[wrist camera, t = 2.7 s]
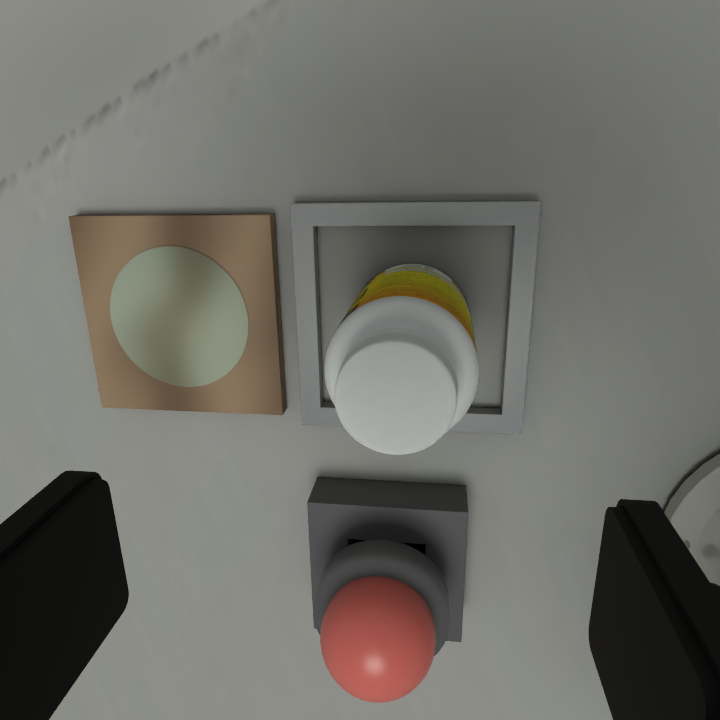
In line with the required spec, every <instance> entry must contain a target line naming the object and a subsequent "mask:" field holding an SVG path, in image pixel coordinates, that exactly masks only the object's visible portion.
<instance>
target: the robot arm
mask: <svg viewBox="0 0 720 720" xmlns="http://www.w3.org/2000/svg"><path fill="white" fill-rule="evenodd" d="M128 596H129V592H128V585H127V580H126V574H125V569H124V563H123V558H122V553H121V547H120V542H119V536H118V531H117V526H116V520H115V515H114V510H113V504H112V499H111V493H110V488H109V485H108V483H107V481H105V480H102V478H101V476H100V475H99V474H98V473H96V472H85V471H65V472H63V473H62V474H60V475H59V476H58V477H57V478H56V479H54V480H53V481H52V482H51V483H50V484H48V485H47V486H46V487H45V488H44V489H42V490H41V491H40V492H39V493H38V494H36V495H35V496H34V497H33V498H32V499H30V500H29V501H28V502H27V503H26V504H24V505H23V506H22V507H21V508H20V509H18V510H17V511H16V512H15V513H14V514H12V515H11V516H10V517H9V518H7V519H6V520H5V521H4V522H3V523H1V524H0V720H49V719H50V717H51V716H52V714H53V713H54V711H55V710H56V709H57V707H58V706H59V704H60V703H61V701H62V700H63V698H64V697H65V696H66V694H67V693H68V691H69V690H70V688H71V687H72V685H73V684H74V683H75V681H76V680H77V678H78V677H79V675H80V674H81V672H82V671H83V670H84V668H85V667H86V665H87V664H88V662H89V661H90V660H91V658H92V657H93V655H94V654H95V652H96V651H97V649H98V648H99V647H100V645H101V644H102V642H103V641H104V639H105V638H106V636H107V635H108V634H109V632H110V631H111V629H112V628H113V626H114V625H115V623H116V622H117V621H118V619H119V618H120V616H121V615H122V613H123V612H124V610H125V608H126V605H127V602H128ZM589 643H590V648H591V652H592V655H593V658H594V661H595V665H596V668H597V671H598V674H599V677H600V680H601V683H602V686H603V689H604V693H605V696H606V699H607V702H608V705H609V708H610V711H611V714H612V717H613V720H720V454H718V455H717V456H715V457H713V458H712V459H710V460H709V461H707V462H706V463H704V464H703V465H702V466H701V467H699V468H698V469H697V470H696V471H695V472H694V473H693V474H692V475H691V476H689V477H688V478H687V479H686V480H685V481H684V482H683V484H682V485H681V486H680V488H679V489H678V490H677V492H676V493H675V494H674V495H673V497H672V498H671V499H670V501H669V503H668V506H667V508H666V510H665V512H663V510H662V509H661V507H660V506H659V504H658V503H657V502H655V501H645V500H626V499H621V500H619V501H618V503H617V506H616V507H608V508H607V510H606V514H605V520H604V527H603V533H602V540H601V547H600V554H599V561H598V568H597V575H596V582H595V588H594V595H593V602H592V609H591V616H590V623H589Z"/></svg>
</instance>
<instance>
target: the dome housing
mask: <svg viewBox="0 0 720 720" xmlns="http://www.w3.org/2000/svg"><path fill="white" fill-rule="evenodd" d="M307 505H308V524H309V543H310V562H311V581H312V600H313V605H314V600H315V596H316V593H317V589H318V586H319V582H320V579H321V576H322V573H323V570H324V568H325V566H326V565H327V563H328V562H329V560H330V559H331V558H332V557H333V556H334V555H335V554H336V553H337V552H339V551H340V550H342V549H343V548H345V547H347V546H349V545H351V544H354V543H355V539H359V540H390V541H395V542H401V543H415V544H426V556H427V557H428V558H429V559H430V560H431V561H432V562H433V563H434V564H435V565H436V566H437V567H438V569H439V570H440V571H441V573H442V575H443V577H444V578H445V581H446V584H447V587H448V592H449V632H448V635H447V639H446V641H456V642H461V638H462V619H463V600H464V580H465V561H466V542H467V523H468V505H467V492H466V486H465V485H447V484H430V483H412V482H395V481H377V480H360V479H342V478H325V477H317V480H316V482H315V485H314V487H313V490H312V492H311V495H310V497H309V500H308V502H307ZM313 619H314V615H313ZM314 628H316V625H315V621H314ZM316 629H317V628H316Z"/></svg>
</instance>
